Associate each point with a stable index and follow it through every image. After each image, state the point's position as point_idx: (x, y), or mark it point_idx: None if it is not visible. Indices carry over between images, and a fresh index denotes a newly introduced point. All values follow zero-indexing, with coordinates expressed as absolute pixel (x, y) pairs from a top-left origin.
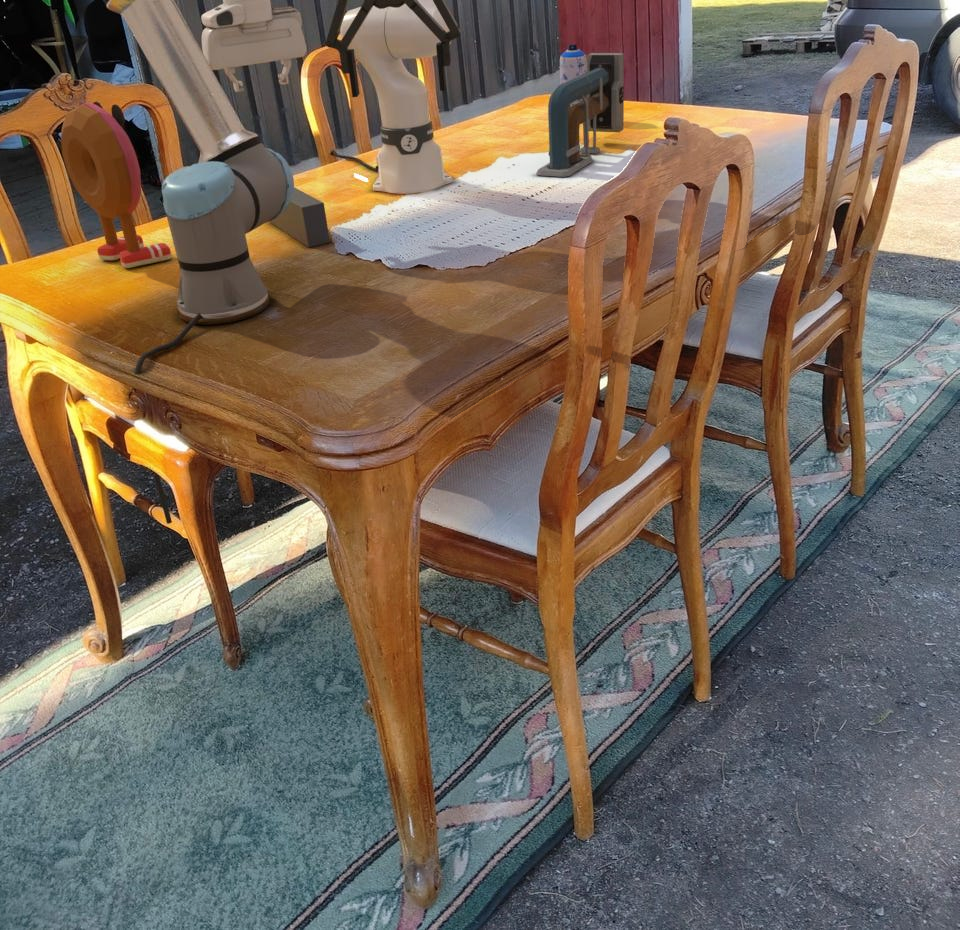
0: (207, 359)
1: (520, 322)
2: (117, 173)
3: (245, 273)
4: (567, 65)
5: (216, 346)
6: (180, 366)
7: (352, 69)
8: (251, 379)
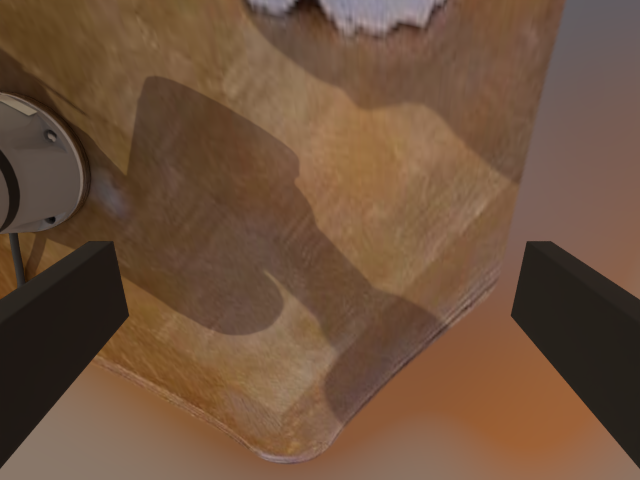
0: None
1: (452, 270)
2: None
3: (35, 200)
4: None
5: None
6: None
7: (44, 407)
8: (163, 369)
